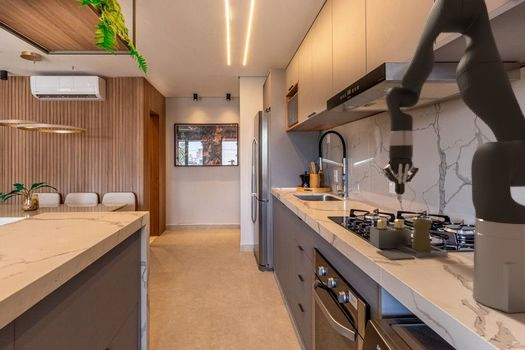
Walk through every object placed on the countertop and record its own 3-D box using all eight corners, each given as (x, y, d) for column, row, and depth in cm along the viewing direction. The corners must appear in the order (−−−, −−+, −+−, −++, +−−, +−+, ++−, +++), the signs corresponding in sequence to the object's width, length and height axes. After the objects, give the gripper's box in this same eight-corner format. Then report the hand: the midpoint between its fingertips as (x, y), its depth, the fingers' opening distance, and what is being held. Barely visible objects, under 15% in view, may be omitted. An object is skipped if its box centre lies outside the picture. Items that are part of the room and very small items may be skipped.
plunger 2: (405, 234, 106) (405, 220, 106) (397, 235, 106) (397, 220, 106) (400, 232, 109) (400, 219, 109) (392, 233, 109) (392, 219, 109)
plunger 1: (388, 235, 105) (388, 221, 105) (379, 235, 105) (380, 221, 105) (383, 233, 108) (383, 219, 108) (375, 233, 108) (375, 219, 108)
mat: (414, 258, 92) (414, 257, 92) (390, 259, 91) (390, 258, 91) (399, 251, 100) (399, 250, 100) (376, 252, 99) (376, 250, 99)
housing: (447, 256, 95) (448, 237, 95) (397, 258, 92) (398, 239, 92) (412, 242, 112) (412, 226, 112) (369, 243, 109) (370, 227, 109)
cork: (406, 251, 100) (407, 218, 100) (418, 248, 103) (419, 216, 103) (423, 256, 95) (424, 221, 95) (436, 253, 98) (436, 219, 97)
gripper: (389, 143, 102) (388, 195, 102) (425, 144, 104) (424, 195, 104) (377, 145, 109) (376, 193, 110) (411, 145, 111) (410, 193, 112)
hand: (399, 194), depth 107 cm, fingers closed
